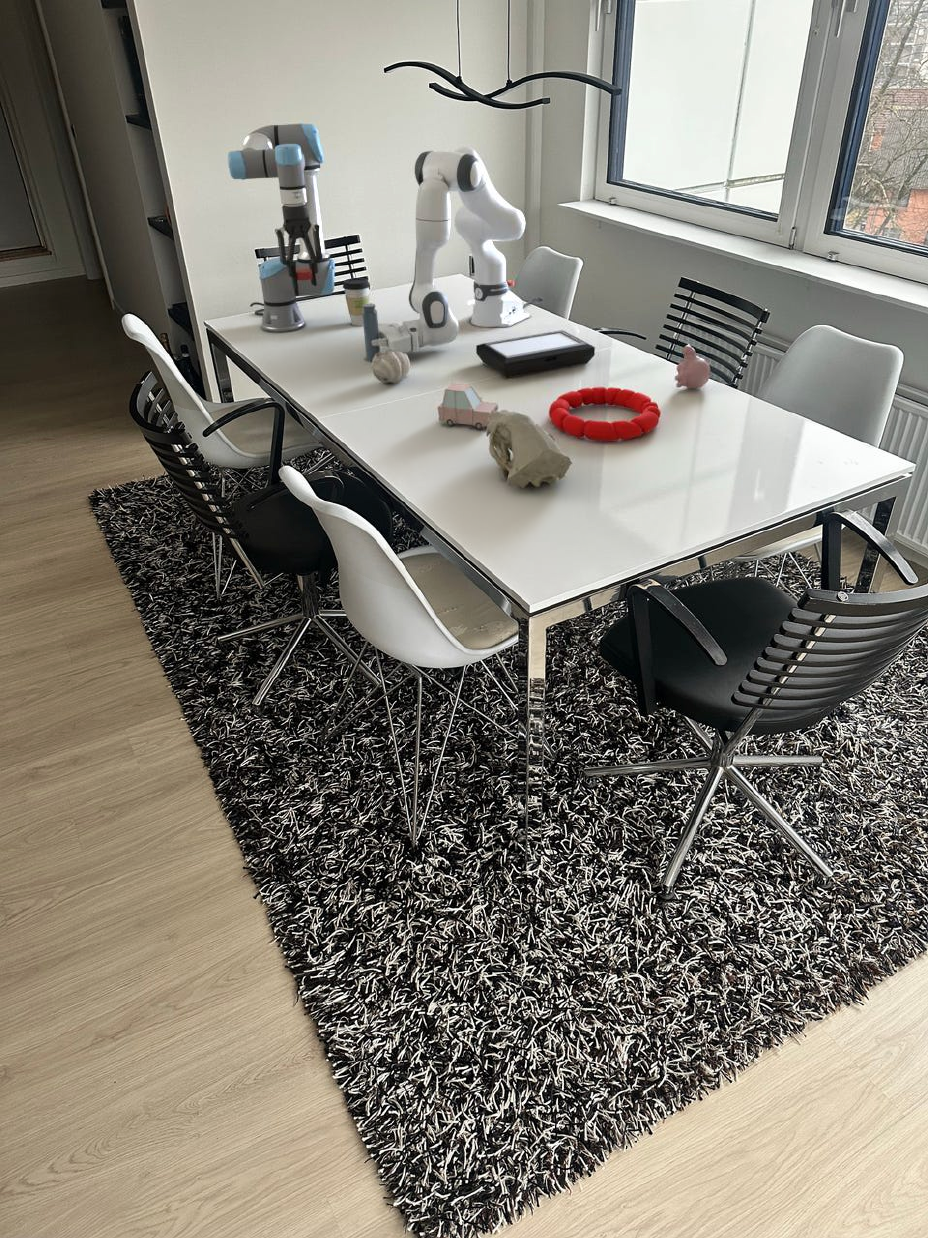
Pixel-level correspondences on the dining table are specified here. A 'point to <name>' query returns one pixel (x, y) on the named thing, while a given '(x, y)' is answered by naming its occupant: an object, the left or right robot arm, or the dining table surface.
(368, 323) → the jar
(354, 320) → the coffee cup
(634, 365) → the dining table surface
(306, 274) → the lid
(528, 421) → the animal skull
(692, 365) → the figurine
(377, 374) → the seashell
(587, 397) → the decorative ring
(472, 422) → the toy car
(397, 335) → the right robot arm
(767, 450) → the dining table surface
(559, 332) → the electronic device
